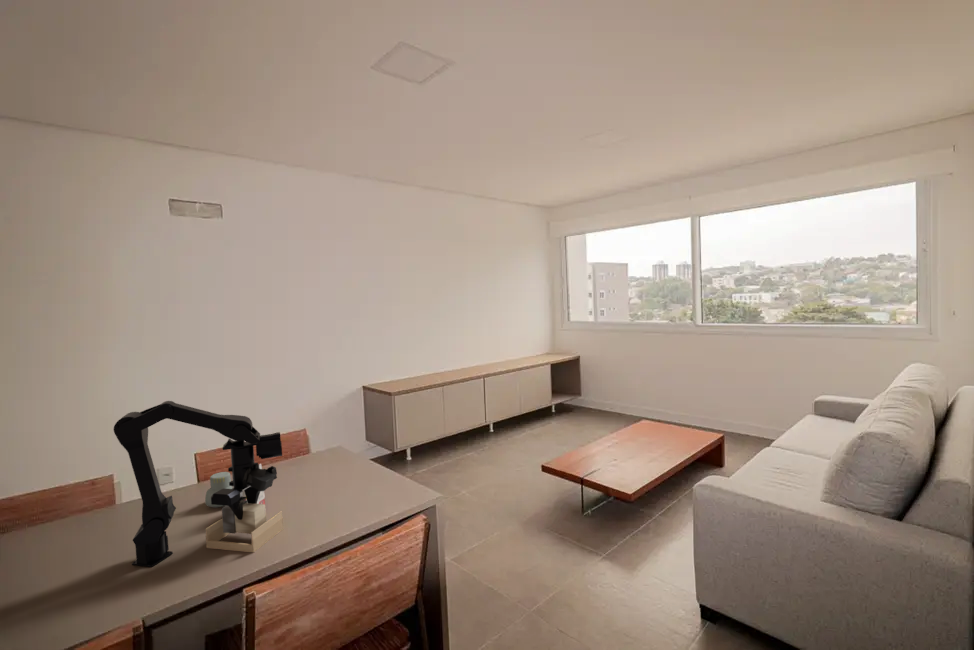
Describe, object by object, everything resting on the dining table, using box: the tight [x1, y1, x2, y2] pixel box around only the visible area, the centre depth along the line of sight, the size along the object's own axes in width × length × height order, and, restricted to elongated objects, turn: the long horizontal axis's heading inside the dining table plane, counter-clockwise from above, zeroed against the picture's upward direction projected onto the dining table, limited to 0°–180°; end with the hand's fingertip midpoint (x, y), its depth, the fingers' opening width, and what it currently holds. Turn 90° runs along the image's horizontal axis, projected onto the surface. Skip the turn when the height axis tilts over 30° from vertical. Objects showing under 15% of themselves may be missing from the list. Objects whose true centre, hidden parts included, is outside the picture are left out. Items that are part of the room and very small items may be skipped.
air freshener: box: [204, 471, 233, 509], centre depth 155 cm, size 11×8×10 cm
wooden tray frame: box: [205, 510, 285, 553], centre depth 132 cm, size 13×15×6 cm
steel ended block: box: [221, 500, 267, 535], centre depth 132 cm, size 10×6×7 cm, turn 78°
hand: (246, 515), depth 132 cm, fingers closed on steel ended block, 4 cm apart
